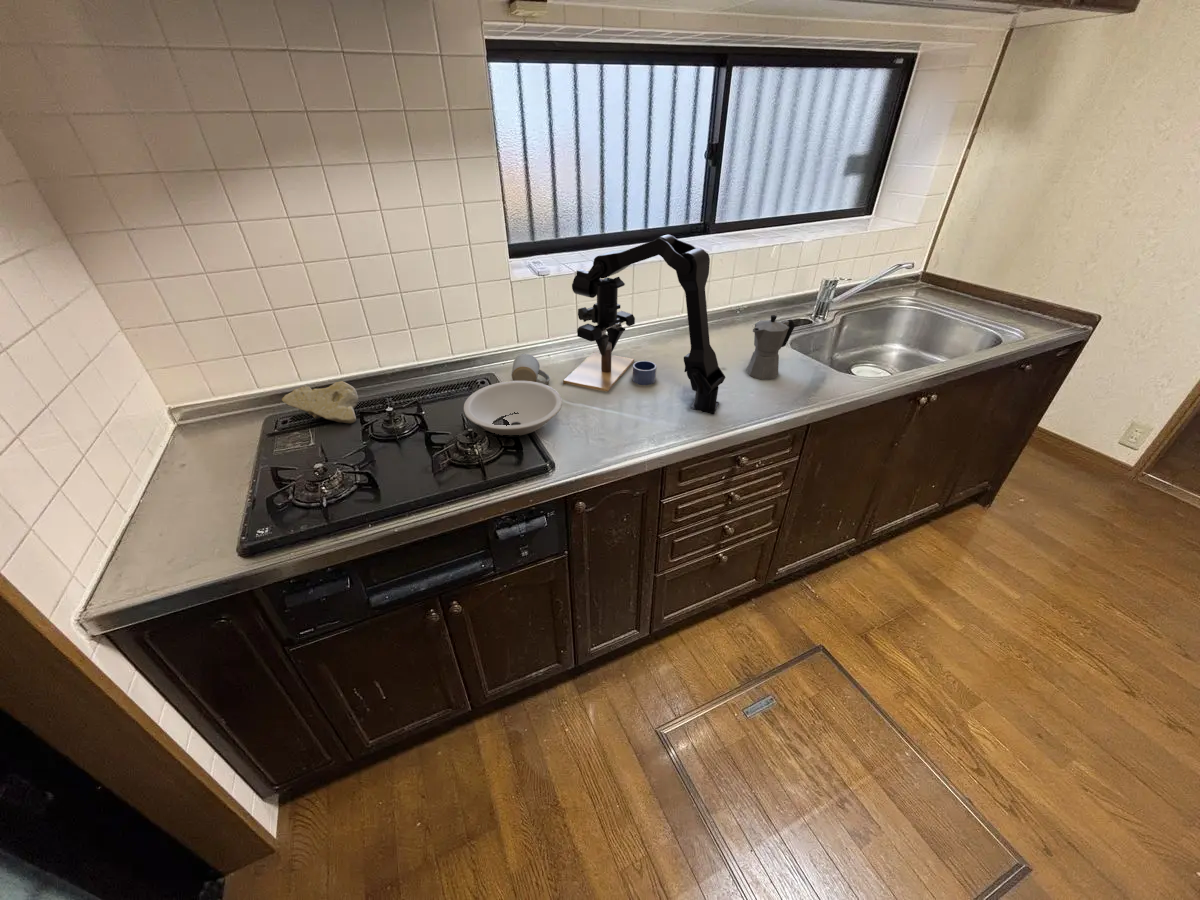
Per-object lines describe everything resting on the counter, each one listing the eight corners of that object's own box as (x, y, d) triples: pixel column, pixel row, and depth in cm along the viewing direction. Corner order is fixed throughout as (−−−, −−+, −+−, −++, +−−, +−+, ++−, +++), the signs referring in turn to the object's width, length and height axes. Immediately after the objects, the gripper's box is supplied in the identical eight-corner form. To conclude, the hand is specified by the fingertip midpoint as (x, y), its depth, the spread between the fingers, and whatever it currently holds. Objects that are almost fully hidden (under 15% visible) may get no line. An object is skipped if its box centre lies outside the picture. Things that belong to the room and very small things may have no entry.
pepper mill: (609, 373, 148) (609, 343, 143) (599, 371, 149) (599, 341, 144) (612, 369, 151) (613, 339, 145) (603, 367, 152) (603, 338, 146)
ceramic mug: (512, 390, 142) (509, 365, 138) (514, 377, 149) (512, 353, 144) (549, 389, 143) (548, 365, 138) (550, 376, 149) (549, 352, 145)
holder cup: (651, 388, 143) (652, 372, 140) (628, 383, 145) (629, 368, 143) (658, 378, 148) (659, 362, 145) (636, 374, 151) (637, 359, 148)
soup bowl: (582, 425, 126) (582, 403, 123) (504, 465, 113) (501, 440, 109) (525, 393, 141) (523, 371, 137) (449, 424, 127) (444, 401, 123)
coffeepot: (755, 384, 146) (767, 324, 135) (734, 371, 152) (744, 313, 142) (795, 373, 151) (809, 315, 141) (773, 361, 158) (785, 305, 148)
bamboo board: (607, 393, 141) (607, 389, 140) (563, 384, 145) (563, 380, 145) (634, 362, 157) (634, 358, 157) (593, 355, 162) (593, 351, 161)
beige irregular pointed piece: (376, 417, 134) (343, 373, 134) (370, 409, 127) (335, 363, 127) (324, 450, 129) (289, 404, 129) (314, 444, 122) (278, 396, 122)
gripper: (608, 287, 148) (607, 337, 157) (562, 302, 137) (564, 355, 146) (637, 295, 142) (634, 347, 151) (591, 312, 131) (592, 366, 140)
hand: (606, 353), depth 147 cm, fingers closed on pepper mill, 3 cm apart
